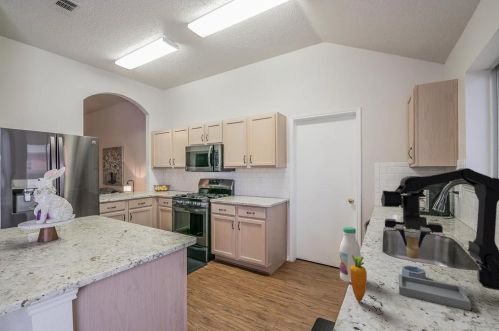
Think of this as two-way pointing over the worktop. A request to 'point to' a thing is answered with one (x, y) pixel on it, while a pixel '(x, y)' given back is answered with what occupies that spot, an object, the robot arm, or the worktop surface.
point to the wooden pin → (412, 247)
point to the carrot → (358, 278)
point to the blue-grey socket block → (413, 272)
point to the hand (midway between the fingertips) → (412, 246)
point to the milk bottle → (348, 252)
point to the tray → (434, 291)
